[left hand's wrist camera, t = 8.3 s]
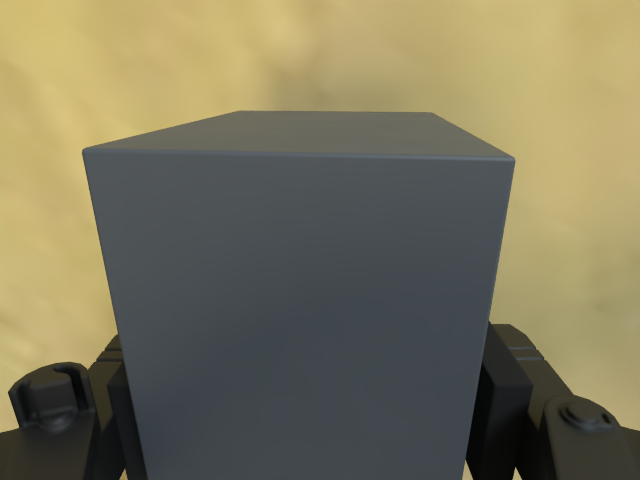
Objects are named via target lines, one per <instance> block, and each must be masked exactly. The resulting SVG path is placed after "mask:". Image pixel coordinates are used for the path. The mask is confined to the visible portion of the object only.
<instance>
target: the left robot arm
mask: <svg viewBox="0 0 640 480" xmlns="http://www.w3.org/2000/svg"><path fill="white" fill-rule="evenodd" d="M8 394H9V397H10V400H11V403H12V406H13V409H14V412H15V415H16V418H17V421H18V424H19V428H18V429H14V430H11V431H6V432H2V433H0V480H119V479H120V477H121V475H122V473H123V471H124V469H125V470H126V474H127V478H128V480H147V475H146V470H145V465H144V460H143V455H142V450H141V445H140V440H139V435H138V430H137V425H136V420H135V415H134V410H133V405H132V400H131V395H130V390H129V385H128V380H127V375H126V370H125V365H124V360H123V355H122V350H121V345H120V340H119V335H118V334H117V335H116V336H115V337H114V338H113V339H112V340H111V342H110V343H109V344H108V345H107V347H106V348H105V351H103V352H102V353H101V354H100V355H99V357H98V358H97V359H96V362H94V363H93V364H92V365H91V367H90V368H89V369H88V370H87V368H85V367H84V366H83V365H82V364H79V363H73V362H63V363H55V364H51V365H48V366H44V367H41V368H39V369H37V370H35V371H32V372H30V373H28V374H26V375H25V376H24V377H22V378H21V379H20V380H18V381H17V382H15V384H14V385H13V386H12V387H11V389H10V390H9V391H8ZM465 459H466V462H467V464H468V467H469V470H470V472H471V475H472V478H473V480H512V479H513V475H514V471H515V466H516V468H517V470H518V472H519V474H520V476H521V478H522V480H640V431H637V430H633V429H629V428H625V427H622V426H620V424H619V423H618V421H617V420H616V418H615V417H614V416H613V415H612V414H611V413H609V412H608V411H607V410H606V409H605V408H603V407H602V406H600V405H598V404H596V403H594V402H593V401H591V400H589V399H585V398H582V397H579V396H576V395H574V394H573V393H572V392H571V391H570V389H569V388H568V387H567V386H566V384H565V383H564V382H563V381H562V380H561V378H560V377H559V376H558V375H557V373H556V372H555V371H554V370H553V368H552V367H551V366H550V365H549V363H548V362H547V361H546V360H544V357H543V356H542V355H541V353H540V352H539V351H538V350H536V347H535V346H534V345H533V343H532V342H531V341H530V340H529V338H528V337H527V336H526V335H525V334H524V333H522V332H521V331H519V330H518V329H516V328H515V327H513V326H512V325H510V324H491V323H490V321H488V327H487V333H486V339H485V345H484V351H483V357H482V363H481V369H480V375H479V381H478V387H477V393H476V399H475V405H474V410H473V416H472V422H471V428H470V434H469V440H468V446H467V452H466V458H465Z"/></svg>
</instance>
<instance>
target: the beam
mask: <svg viewBox="0 0 640 480" xmlns="http://www.w3.org/2000/svg"><path fill="white" fill-rule="evenodd" d="M82 155H83V160H84V165H85V170H86V175H87V180H88V185H89V190H90V195H91V200H92V205H93V210H94V215H95V220H96V225H97V230H98V235H99V240H100V245H101V250H102V255H103V260H104V265H105V270H106V275H107V280H108V285H109V290H110V295H111V300H112V305H113V310H114V315H115V320H116V325H117V330H118V335H119V340H120V345H121V350H122V355H123V360H124V365H125V370H126V375H127V380H128V385H129V390H130V395H131V400H132V405H133V410H134V415H135V420H136V425H137V430H138V435H139V440H140V445H141V450H142V455H143V460H144V465H145V470H146V475H147V480H462V476H463V470H464V464H465V458H466V452H467V446H468V440H469V434H470V428H471V422H472V416H473V410H474V405H475V399H476V393H477V387H478V381H479V375H480V369H481V363H482V357H483V351H484V345H485V339H486V333H487V327H488V321H489V315H490V309H491V303H492V297H493V291H494V285H495V279H496V274H497V268H498V262H499V256H500V250H501V244H502V238H503V232H504V226H505V220H506V214H507V208H508V202H509V196H510V190H511V184H512V178H513V172H514V166H515V158H514V157H512V156H510V155H509V154H507V153H505V152H503V151H501V150H499V149H498V148H496V147H494V146H492V145H490V144H488V143H487V142H485V141H483V140H481V139H479V138H477V137H476V136H474V135H472V134H470V133H468V132H466V131H465V130H463V129H461V128H459V127H457V126H455V125H454V124H452V123H450V122H448V121H446V120H444V119H443V118H441V117H439V116H437V115H435V114H433V113H429V112H323V111H236V112H232V113H228V114H224V115H220V116H216V117H212V118H207V119H203V120H199V121H195V122H191V123H187V124H183V125H178V126H174V127H170V128H166V129H162V130H158V131H153V132H149V133H145V134H141V135H137V136H133V137H129V138H124V139H120V140H116V141H112V142H108V143H104V144H99V145H95V146H91V147H87V148H85V149H83V150H82Z"/></svg>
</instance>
